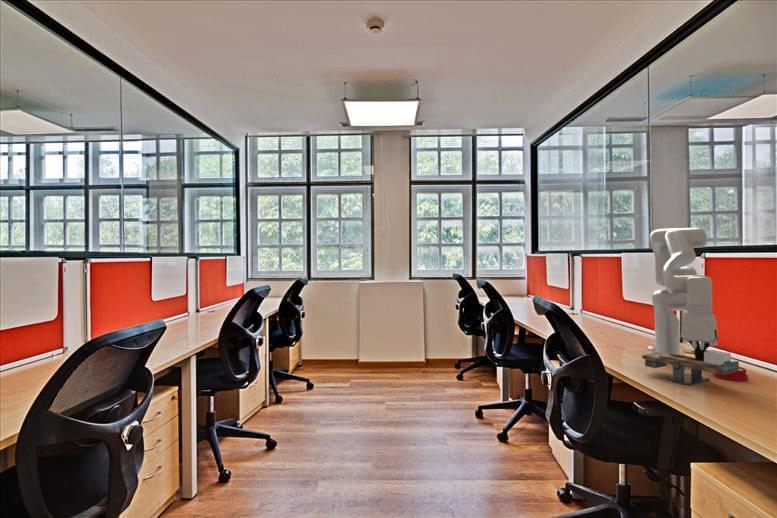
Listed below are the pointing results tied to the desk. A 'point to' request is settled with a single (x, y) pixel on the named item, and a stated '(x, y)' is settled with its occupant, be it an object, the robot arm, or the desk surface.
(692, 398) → the desk surface
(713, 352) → the rider
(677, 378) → the stand
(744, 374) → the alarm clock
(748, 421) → the desk surface
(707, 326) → the robot arm
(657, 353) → the beam
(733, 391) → the desk surface
